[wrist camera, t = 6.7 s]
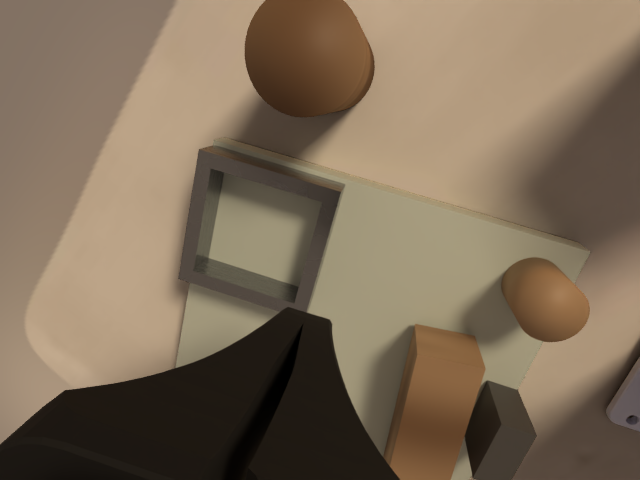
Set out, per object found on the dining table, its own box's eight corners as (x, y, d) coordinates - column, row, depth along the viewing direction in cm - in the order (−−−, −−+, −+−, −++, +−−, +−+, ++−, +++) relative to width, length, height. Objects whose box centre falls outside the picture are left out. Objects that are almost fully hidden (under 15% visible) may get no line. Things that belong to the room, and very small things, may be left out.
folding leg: (424, 506, 22) (428, 564, 19) (374, 494, 22) (371, 549, 19) (474, 335, 18) (488, 376, 16) (414, 323, 19) (418, 361, 16)
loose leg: (385, 34, 17) (380, 2, 11) (360, 121, 18) (344, 131, 12) (303, 13, 17) (258, -30, 11) (284, 99, 18) (234, 99, 12)
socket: (345, 184, 18) (341, 192, 16) (311, 303, 20) (304, 319, 18) (215, 145, 18) (198, 149, 16) (194, 265, 20) (178, 278, 18)
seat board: (578, 242, 18) (627, 280, 14) (447, 496, 23) (457, 572, 20) (224, 137, 19) (182, 146, 15) (177, 402, 24) (137, 457, 21)
